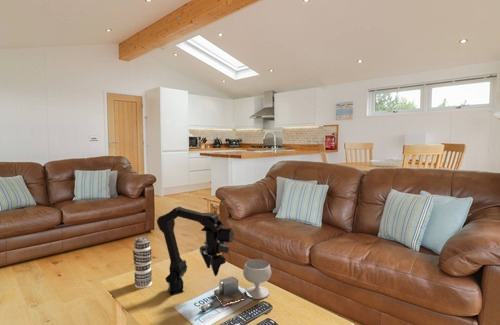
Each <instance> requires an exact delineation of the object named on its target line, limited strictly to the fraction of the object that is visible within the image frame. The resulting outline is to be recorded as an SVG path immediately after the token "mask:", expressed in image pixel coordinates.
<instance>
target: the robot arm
mask: <svg viewBox="0 0 500 325" xmlns="http://www.w3.org/2000/svg"><path fill="white" fill-rule="evenodd" d="M177 218H182V219H186V220H191V221H193V222H197V223H199V224H200V225H201V226H202V228H201V231H202V232H205V241H204V242H203V243H204V245H201V246H200V247H199V253H200V255H201V257H202V259H203V261H204V263H205V265H206V268H207V269H210V268H211V270H212V272H213V275H214V277H217V276H218V274H219V271H220V268H221V266H222V265H224V264H226V258H225V257H224V256H223V255H222V254H221V253H225V254H228V253H229V250H230V246H229V245H227V244H226V243H231V244H232V243H233V241H234V238H235V234H234V230H233V227H230V226H229V227H226V226H225V225H224V223H223V222H222V221H221V219H220V216H219V215H218V214H217V213H215V212H201V211H197V210H192V209H190V208H189V209H188V208H184V207H182V206H177V207H174V208H173V209H171V211H169V212H167V213H165V214H162V215H160V216H159V217H157V219H156V224H157V226H158V229H159V230H160V231H161V232H162V234H163V237H164V240H165V245H166V248H167V252H168V256H169V260H170V264H169V267H168V268H169V274H168V275H167V276H165V281H166V283H167V284H168V285H167V286H168V287H167V291H168V293H169V295H170V296H173V295H176V294H182V293H183V292H184V280H183V277H184V275H185V274H186V273H187V272H188V271H187V270H188V269H187V268H188V265H187V261H186V260H185V259H184V260H183V259H182V258H181V254H180V251H179V247H178V244H177V239H176V235H175V230H174V229H175V224H176V223H175V221H176V220H175V219H177Z"/></svg>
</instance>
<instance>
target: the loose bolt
mask: <svg viewBox="0 0 500 325" xmlns="http://www.w3.org/2000/svg"><path fill="white" fill-rule="evenodd" d="M211 305H212V306H213V302H212V301H210V302H209V303H207V304H206V305H205V304H203V305H201V307H200V310H201V311H202V312H203V311H205V312H206V311H207V310H208V309H210V308H211V307H212V306H211ZM210 306H211V307H210ZM209 307H210V308H209Z"/></svg>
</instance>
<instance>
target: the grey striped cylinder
mask: <svg viewBox="0 0 500 325" xmlns="http://www.w3.org/2000/svg"><path fill="white" fill-rule="evenodd" d="M150 241H151V239H150V238H149V237H148V236H138V237H137V238H135V240H134V241H133V244H134V247H133V248H134V249H133V251H132V254H133V255H132V256H133V264H134V267H135V269H134V285H135V286H134V287H135V288H137V289H144V288H147V287H150V286H151V285H152V284H153V280H152V278H153V276H152V267H151V263H152V248H151V244H150V243H151V242H150Z"/></svg>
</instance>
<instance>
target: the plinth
mask: <svg viewBox="0 0 500 325" xmlns="http://www.w3.org/2000/svg"><path fill="white" fill-rule="evenodd" d="M213 293H214V294H215V295H216V296H217V297H218V299H219V300H220V301H221V303H222V304H223V305H225V304H227V303H230V302H235V301H238V300H241V299H244V298H245V295H246V294H244V293H243V292H242V291H241V290H240V289H239V288H238V293H235V294H232V295H228V296H225V297H224V296H223V295H221V296H220V295H219V288H218V289H215V290H214V291H213ZM214 294H213V295H214ZM218 299H217V300H218ZM245 299H246V298H245ZM221 303H220V304H221ZM222 304H221V305H222Z"/></svg>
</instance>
